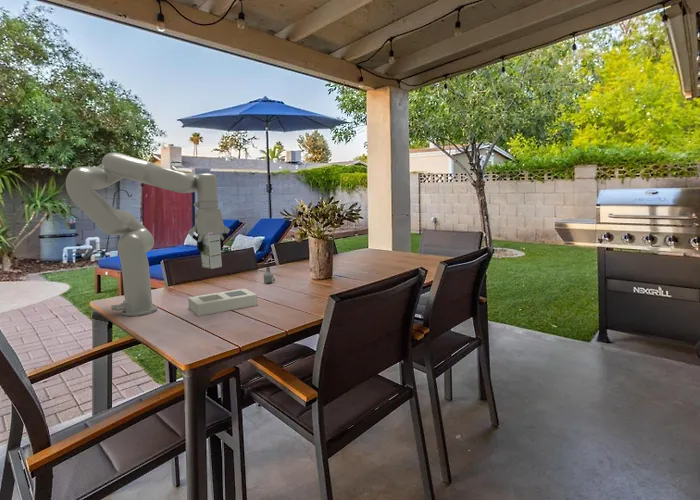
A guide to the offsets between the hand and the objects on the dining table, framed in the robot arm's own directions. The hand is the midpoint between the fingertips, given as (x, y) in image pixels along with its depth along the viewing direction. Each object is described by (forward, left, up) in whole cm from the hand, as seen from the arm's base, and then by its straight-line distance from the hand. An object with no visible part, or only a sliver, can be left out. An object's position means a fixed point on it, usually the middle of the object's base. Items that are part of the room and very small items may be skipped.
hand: (210, 250), depth 164 cm
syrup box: (0, 0, -7) cm, 7 cm away
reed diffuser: (+37, +29, -24) cm, 53 cm away
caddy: (+4, 0, -24) cm, 24 cm away
